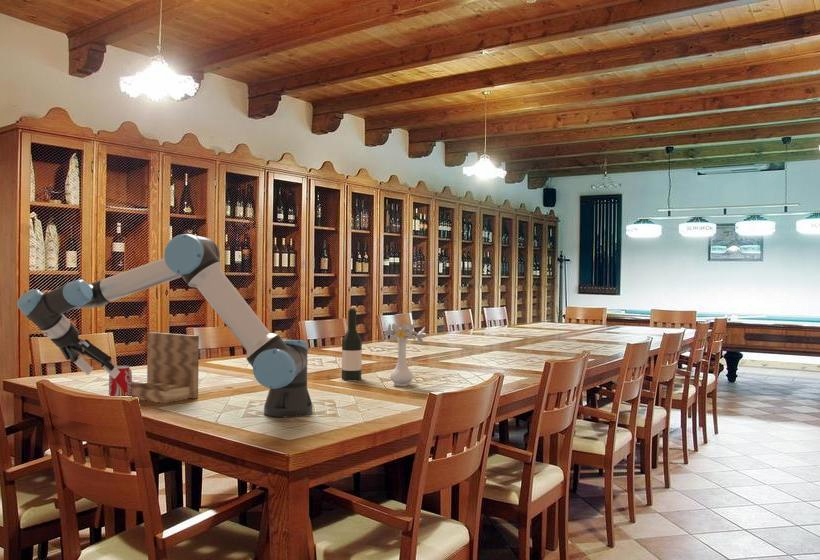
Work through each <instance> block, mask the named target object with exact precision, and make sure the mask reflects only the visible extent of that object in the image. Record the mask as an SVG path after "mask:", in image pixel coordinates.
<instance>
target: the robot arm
mask: <svg viewBox="0 0 820 560" xmlns="http://www.w3.org/2000/svg"><path fill="white" fill-rule="evenodd" d="M163 253H164V254H163V256H164V257H163V258H160V259H159V258H158V259H157V260H154V261H151V262H148V263H145V264H143V265H140V266H138V267H134V268H131V269H129V270H125V271H123V272H120V273H116V274H114V275H111V276H109V277H106V278H102V279H100V280H97V281H94V282H92V283H88V282H86V281H85V280H83V279H76V280H73V281H69V282H67V283H65V284H64V285H61V286H59V287H56V288H55V289H52V290H50V291H46V292H45V293H43V292H42V291H40V290H39V289H37V288H35V289H34V288H33V289H30V290H27V291H26V292H24V293H23V294H21V296H19V298H18V299H17V301H16V306H17V309H19V310H20V311H21V313H22V314H23V316H25V317H26V318H28V320H29V321H31V322H32V323H33V324H34V325H35V326H37V328H38V329H39V330H40V331H41V332H42V333H43V336H44V337H47V338H48V339H50V340H51V342H52V343H53V344H54V345H55V346H56V347H57V348H58V349H59V350H60V351H61V354H62V355H63V356H64V358H65V360H66V361H70V362H72V363H74V364H75V365H76V367H78V368H79V369H80V370H81V371H82V372H83V373H84V374H86V376H89V375H90V373H91V372H93V370H94V368H93V367H92V366H91V364H90V363H89V362H87V361H86V359H84V358H83V356H86V357H88V358H90V359H92V360H93V361H95V362H97V363H98V364H100V367H101V368H103V369H104V370H105V371H106V372H107V374H108V375H109V374H110V375H111V376H112V377H113V378H116V377H117V375H118V374H119V373H120V371H119V370H118V369H117V368H116V367H115V366H116V365H114V364H113V363H112V361H111V360H112V357H111V356H110V355H108V354H107V353H105V352H104V351H102V350H101V349H100V348H98V347H97V346H95V345H94V344H93V343H92V342H91V341H89V339H84V340H83V339H81V338H79V335H80V331H79V330H78V328H77V327H76V326H74V325H73V323H71V321H70V320H69V319H68V318H67V316H65V315H64V313H67V312H69V311H71V310H76V309H77V310H78V309H87V308H88V309H90V308H91V309H92V308H100V307H104V306H105V305H107V304H108V303H110V302H113V301H115V300H118V299H122V298H125V297H127V296H130V295H133V294H136V293H138V292H141V291H142V292H143V291H145V290H147V289H151V288H154V287H157V286H160V285H162V284H165V283H168V282H171V281H173V280H177V279H180V278H182V279H183V280H184V282H185V283H186V284H187V286H188V287H190V288H196V289H197V290H198V291H199V292H200V293H201V295H202V297H204V298H205V300H206V301H207V302H208V304H209V305H210V306H211V307H212V309H213V311H215V312H216V314H217V315H218V316H219V318H220V319H221V320H222V322H223V323H224V324H225V325H226V327H227V328H228V329H229V331H230V332H231V333H232V334H233V336H234V337H235V338H236V339H237V341H238V342H239V344H241V346H242V348H244V350H245V351H246V356H245V357H246V358H245V359H246V360H247V363H249V364H250V366H251V367H252V374H253V376H254V378H255V380H256V381H257V383H259V384H260V385H261V386H262V387H265V388H267V389H269V390H268V392H267V396H266V399H265V403H264V405H263V414H264V415H266V416H270V417H276V418H292V417H293V418H294V417H295V418H296V417H302V416H303V417H304V416H308V415H310V414H312V413H313V403H312V400H311V397H310V393H309V390H308V354H309V349H308V343H307V341H305V340H301V339H283V338H282V337H281V336H280V335H279V334H278V333H272V332H270V330H269V329H268V328H267V327H266V326H265V324H264V323H263V321H262V320H261V319H260V318H259V317H258V314H256V313H255V312H254V310H253V308H252V307H251V306H250V305H249V304H248V303H247V301H246V300H245V299H244V297H243V296H242V295H241V294H240V292H239V291H238V290H237V289H236V287H235V286H234V285H233V284H232V282H231V281H230V280H229V278H228V277H227V276H226V275H225V274H224V271H223V270H222V267H223V262H221V260H220V259H221V251H220V248H219V246H218V245H217V244H216V242H215V241H213V240H212V239H210V237H209V238H208V237H206V236H199V235H195V234H192V233H184V234H178V235H176V236H174V237H172V238H171V239H170V240H169V241H168V243H167V244H166V246H165V248H164V252H163ZM81 355H82V356H81Z"/></svg>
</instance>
